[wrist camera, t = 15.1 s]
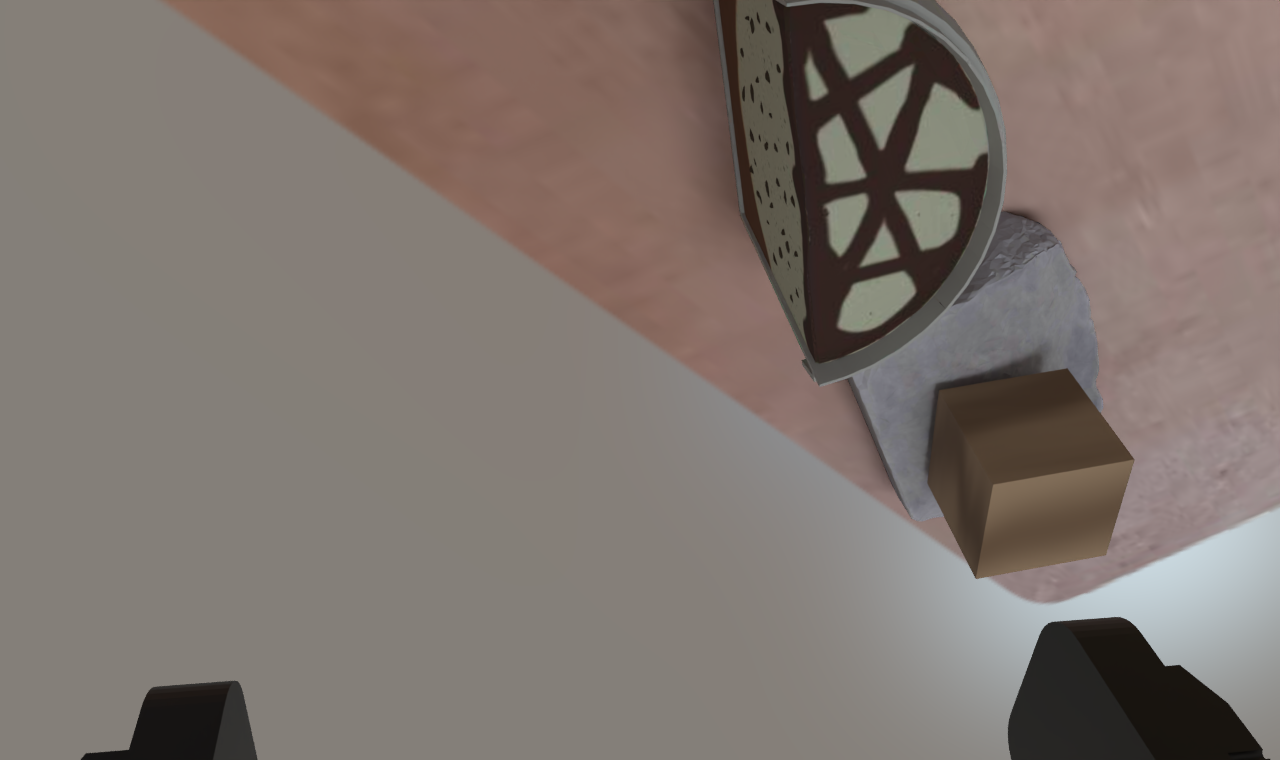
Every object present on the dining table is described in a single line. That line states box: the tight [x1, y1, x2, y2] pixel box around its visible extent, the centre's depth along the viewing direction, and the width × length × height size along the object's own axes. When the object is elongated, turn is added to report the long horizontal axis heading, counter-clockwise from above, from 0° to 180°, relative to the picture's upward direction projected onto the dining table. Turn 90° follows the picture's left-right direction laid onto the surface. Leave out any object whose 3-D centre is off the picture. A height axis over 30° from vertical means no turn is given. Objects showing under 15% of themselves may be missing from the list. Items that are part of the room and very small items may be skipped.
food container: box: [713, 0, 1007, 387], centre depth 33 cm, size 12×6×10 cm, turn 9°
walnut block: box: [927, 368, 1134, 579], centre depth 40 cm, size 5×5×5 cm
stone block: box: [847, 212, 1103, 521], centre depth 44 cm, size 12×5×10 cm
